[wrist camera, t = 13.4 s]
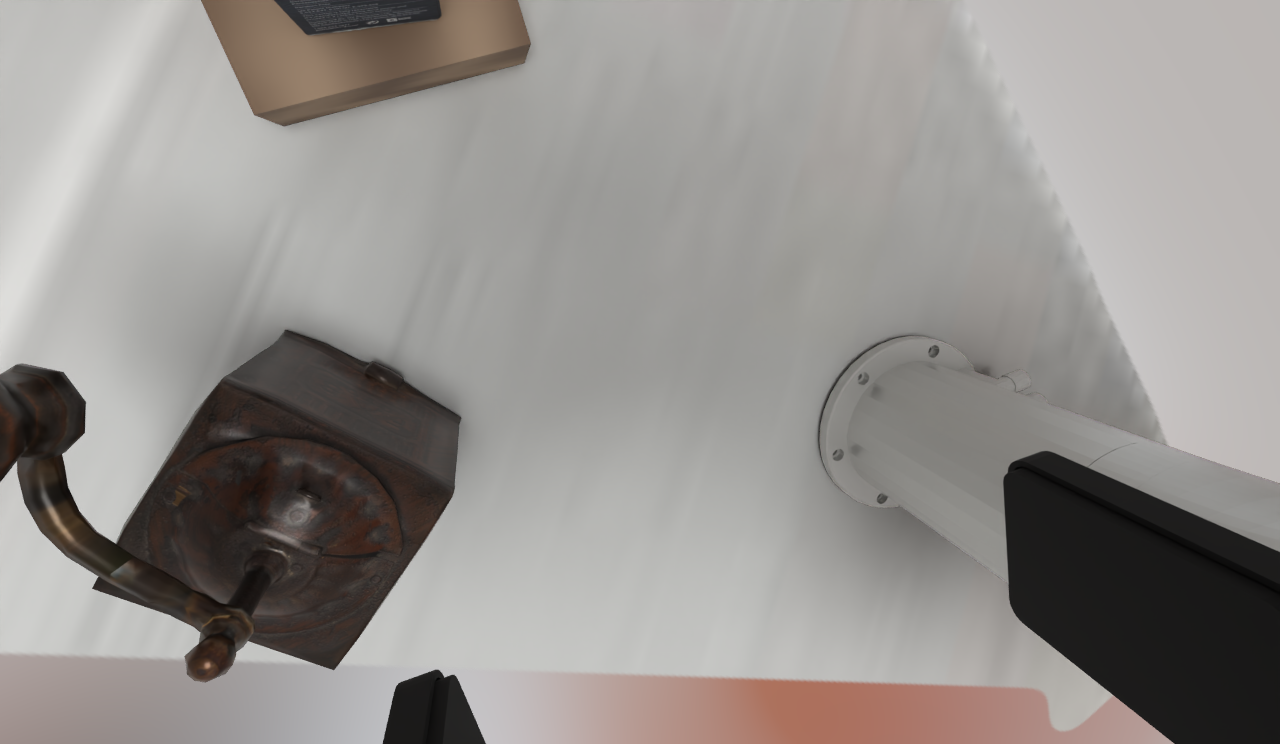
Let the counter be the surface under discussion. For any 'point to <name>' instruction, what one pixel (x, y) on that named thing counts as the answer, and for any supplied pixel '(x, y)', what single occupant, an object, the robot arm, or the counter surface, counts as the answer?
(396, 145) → the counter surface
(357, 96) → the base
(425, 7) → the box
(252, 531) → the antique coffee grinder
